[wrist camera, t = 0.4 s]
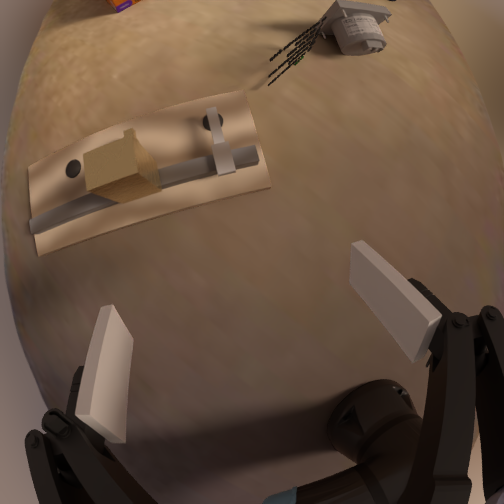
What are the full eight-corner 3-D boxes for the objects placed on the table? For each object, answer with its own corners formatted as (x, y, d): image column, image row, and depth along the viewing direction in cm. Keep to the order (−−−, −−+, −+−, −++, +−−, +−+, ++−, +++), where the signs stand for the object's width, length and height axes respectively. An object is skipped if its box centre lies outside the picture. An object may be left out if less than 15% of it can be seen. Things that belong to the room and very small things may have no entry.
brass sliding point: (165, 193, 31) (137, 172, 20) (127, 205, 30) (86, 191, 20) (153, 131, 30) (127, 91, 20) (118, 144, 30) (80, 110, 19)
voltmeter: (334, 14, 34) (351, -19, 24) (384, 49, 35) (409, 21, 25) (243, 86, 33) (249, 43, 23) (309, 133, 34) (335, 101, 24)
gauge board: (270, 188, 34) (276, 181, 30) (43, 256, 31) (26, 257, 27) (243, 95, 33) (245, 78, 29) (33, 168, 31) (17, 162, 26)
